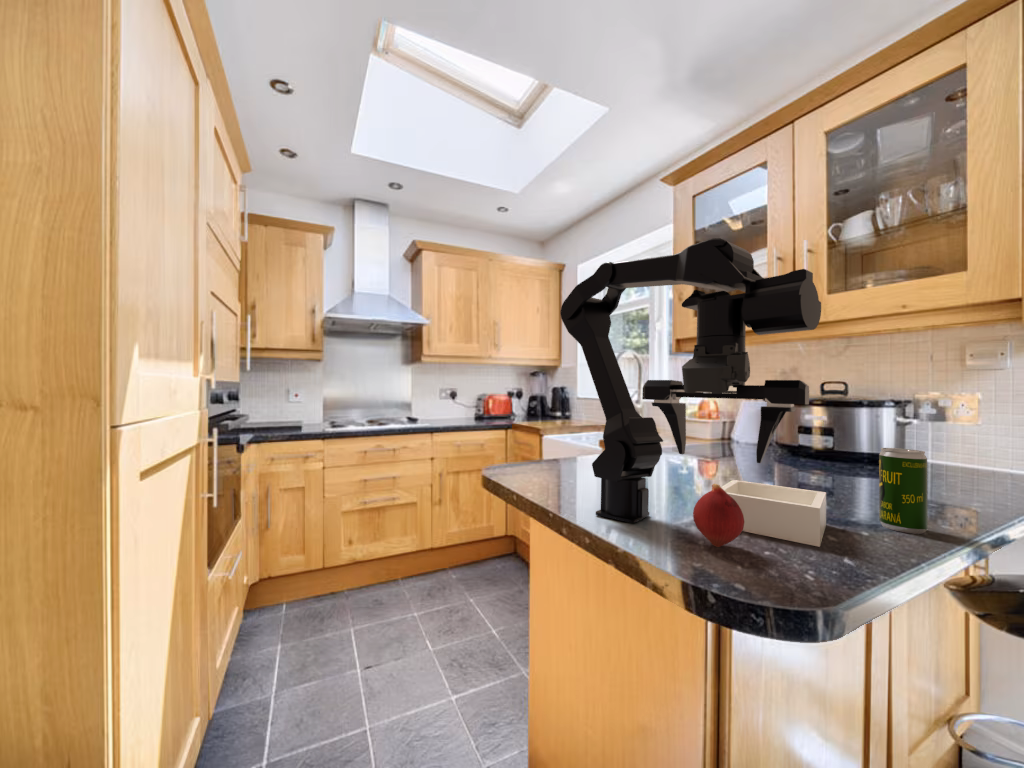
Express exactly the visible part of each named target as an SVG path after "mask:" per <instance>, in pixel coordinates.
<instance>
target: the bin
mask: <svg viewBox="0 0 1024 768" xmlns="http://www.w3.org/2000/svg"><path fill="white" fill-rule="evenodd" d="M720 487H721V488H722V489H723V490H724V491H725V492H726V493H727V494H729V495H730V496H731V497H732V498H733V499H734V500H735V501H736V502H737V504H738V505H739V507H740V508H741V510H742V513H743V516H744V527H743V530H742V532H746V533H752V534H756V535H760V536H765V537H771V538H776V539H780V540H784V541H785V540H786V541H790V542H795V543H800V544H804V545H808V546H812V547H813V546H815V547H819V548H820V547H821V545H822V541H823V538H824V537H823V536H824V533H825V530H826V527H827V492H825V491H820V490H812V489H811V490H810V489H803V488H795V487H789V486H781V485H775V484H767V483H760V482H754V481H753V482H752V481H751V482H750V481H745V480H737V479H732V480H731V481H729V482H726V483H725V484H724V485H722V486H720Z"/></svg>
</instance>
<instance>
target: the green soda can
mask: <svg viewBox="0 0 1024 768" xmlns="http://www.w3.org/2000/svg"><path fill="white" fill-rule="evenodd" d="M880 450H881V451H880V452H879V454H878V459H879V460H878V464H879V465H878V467H879V468H878V472H879V474H878V479H879V480H878V481H879V482H878V485H879V486H878V491H879V493H878V494H879V495H878V497H879V499H878V500H879V501H878V503H879V504H878V505H879V507H878V508H879V509H878V510H879V512H878V514H879V515H878V516H879V522H880V524H881V526H882V527H883V528H886V529H888V530H892V531H896V532H899V533H907V534H915V535H918V534H919V535H920V534H925V533H926V531H928V527H929V526H928V523H929V522H928V520H929V519H928V517H929V516H928V509H929V508H928V458H927V456H926V451H924V450H918V449H912V448H911V449H910V448H909V449H908V448H898V447H897V448H896V447H881V448H880Z"/></svg>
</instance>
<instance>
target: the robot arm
mask: <svg viewBox="0 0 1024 768" xmlns="http://www.w3.org/2000/svg"><path fill="white" fill-rule="evenodd" d="M754 261H755V260H754V258H753V255H752V254H751V253H750V252H749V250H747V249H745V248H743V247H740V246H738V245H736V244H734V243H732V242H730V241H728V240H725V239H724V238H719V237H718V238H715V237H712V238H709V239H706V240H703V241H700V242H698V243H697V242H696V243H694V244H691V245H689V246H687V247H686V248H684V249H683V250H682V251H680V252H678V253H675V254H669V255H662V256H661V255H660V256H655V257H646V258H640V259H633V260H625V261H619V262H618V261H617V262H612V261H608V262H603V263H602V264H601V265H600V266H598V268H597V269H596V270H595V271H594V273H593V274H592V275H591V276H589V277H587V278H586V279H584V280H583V281H581V282H580V283H578V284H577V285H575V287H574V288H573V289H572V290H571V292H570V293H569V294H568V296H567V297H566V298H565V299H564V301H563V302H562V304H561V307H560V318H561V320H562V323H563V325H564V326H565V329H566V331H567V332H568V334H570V335H571V337H573V339H574V340H576V342H577V343H578V344H579V345H580V346H581V350H582V353H583V355H584V358H585V361H586V363H587V366H588V369H589V373H590V375H591V378H592V379H591V380H592V381H593V385H594V387H595V391H596V394H597V396H598V400H599V403H600V405H601V408H602V411H603V414H604V417H605V425H604V430H603V435H602V441H603V443H604V445H603V446H604V449H603V450H602V452H601V453H600V454H599V455H598V456H597V458H596V459H594V461H593V462H592V463H591V466H592V467H591V468H592V472H593V475H594V477H595V478H597V479H598V478H600V509H598V510H595V515H596V516H599V517H603V518H606V519H607V518H608V519H611V520H617V521H620V522H626V523H630V524H635V523H637V522H639V521H641V520H643V519H644V518H647V517H649V516H650V511H649V497H650V496H649V495H650V494H649V491H650V490H649V488H648V487H646V485H647V478H651V477H652V476H653V473H654V470H655V467H656V466H657V464H658V463H659V462H660V459H661V456H662V455H663V448H662V444H661V443H664V439H663V438H662V437H661V436H660V434H659V432H658V429H657V424H656V421H655V420H654V418H653V417H649V416H648V417H646V416H645V417H642V416H641V415H640V413H638V412H637V410H636V408H635V404H634V403H633V400H632V396H631V394H630V392H629V388H628V385H627V384H626V381H625V379H624V376H623V373H622V370H621V367H620V365H619V362H618V359H617V356H616V354H615V351H614V349H613V346H612V342H611V340H610V338H609V335H610V330H611V327H612V326H611V325H612V321H611V315H612V314H613V313H614V312H615V311H616V309H617V308H618V306H619V303H620V301H621V297H622V294H623V293H624V292H625V290H626V289H630V288H631V289H633V288H650V287H661V286H663V287H664V286H665V287H666V286H675V285H676V286H679V285H680V286H681V285H685V286H691V287H697V288H702V289H709V290H715V291H713V292H709V293H705V291H702V290H698V289H694V290H693V291H692V293H691V294H690V295H689V296H688V297H686V298H685V299H684V300H683V301H682V302H681V307H682V308H685V309H689V310H692V311H696V344H694V348H693V356H692V358H690V359H689V360H687V361H686V362H685V363H684V364H683V365H682V366H681V373H682V381H681V380H674V379H669V380H668V379H647V380H646V381H645V382H644V384H643V387H642V393H641V394H642V395H641V396H642V400H646V401H648V400H649V401H651V400H652V401H653V402H651V405H652V407H658V409H659V410H660V411H661V412H662V413H663V415H664V417H665V419H666V420H667V423H668V426H669V428H670V430H671V433H672V436H673V439H674V442H675V445H676V448H677V451H678V454H679V455H684V454H685V451H686V447H687V446H686V444H687V425H686V424H687V422H686V421H687V420H686V419H687V411H686V410H687V408H686V405H687V404H686V403H683V402H680V400H681V398H692V399H693V398H695V399H697V398H698V399H699V398H700V399H730V400H731V399H733V400H734V399H735V400H737V399H739V400H764V402H765V403H766V406H764V405H763V406H760V421H759V422H760V424H759V429H758V438H757V443H756V444H757V445H756V463H757V464H761V463H763V460H764V458H765V455H766V453H767V450H768V448H769V445H770V443H771V442H772V438H773V436H774V434H775V432H776V429H777V428H778V426H779V425H780V423H781V422H782V420H783V418H784V417H785V415H786V413H792V412H796V411H797V407H795V405H809V404H810V386H809V385H808V384H807V383H806V382H805V381H803V380H801V379H765V380H764V385H760V384H759V385H757V384H756V385H749V384H747V385H746V382H747V381H748V380H749V378H750V376H751V366H750V365H751V363H750V357H749V352H748V351H746V332H747V331H746V327H747V328H748V329H749V328H750V329H751V330H752V332H753V333H755V334H756V335H757V336H758V335H759V336H763V335H771V334H772V335H774V334H783V333H784V334H785V333H794V332H804V331H812V330H815V329H816V328H818V326H819V324H820V321H821V318H822V317H821V316H822V302H821V301H820V299H819V293H818V291H817V287H816V285H815V283H814V281H813V280H814V276H813V275H814V273H813V272H811V271H810V270H807V269H805V268H802V269H801V268H800V269H796V270H791V271H790V272H787V273H784V274H780V275H779V274H778V275H774V276H769V277H765V278H764V277H763V276H762V275H761V274H760V273H759V272H758V271H757V270H756V269H755V267H754V265H755V264H754V263H755V262H754ZM606 288H607V291H606V294H605V295H604V296H603V298H602V299H599V298H597V297H596V298H595V297H594V296H596V295H597V294H599V293H601V292H603V291H604V290H605V289H606ZM736 290H737V291H738V290H739V291H741V292H743V293H736V294H730V293H729V292H731V291H736ZM730 387H732V388H736V390H729V389H730Z"/></svg>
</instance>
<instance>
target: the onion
mask: <svg viewBox="0 0 1024 768" xmlns="http://www.w3.org/2000/svg"><path fill="white" fill-rule="evenodd" d="M721 487H722V486H720V484H718V483H713V484H712V485H711V490H710V491H708V492H706V493H705V494H703V495H702V496H700V498H699V499H698V500H697V501H696V503H695V505H694V507H693V512H692V517H693V522H694V524H695V527H696V529H698V531H699V532H700V533H701V535H702V536H703V537H705V538H706V539H707V540H708V542H709V543H710V544H711V545H712V546H714V547H717V548H721V547H723V546H725V545H727V544H730V543H731V542H733V541H734V540H735V539H737V538H738V537H739V536H740V535H741V534H742V532H743V531H742V530H743V527H744V516H743V513H742V510H741V508H740V507H739V505H738V504H737V502H736V501H735V500H734V499H733V498H732V497H731V496H730V495H729V494H727V493H726V492H725V491H724V490H723V489H722V488H721Z"/></svg>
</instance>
